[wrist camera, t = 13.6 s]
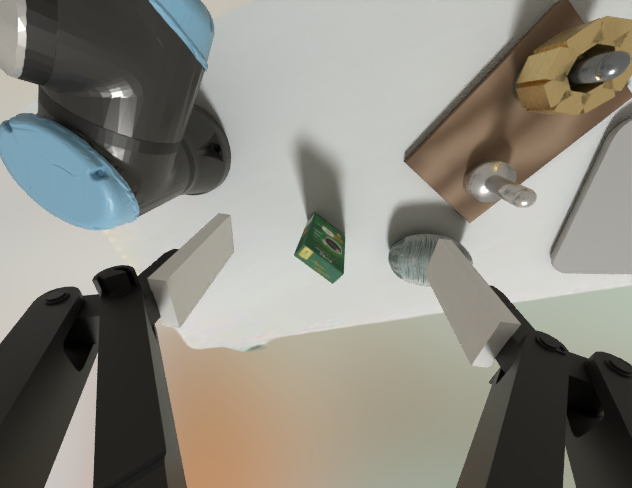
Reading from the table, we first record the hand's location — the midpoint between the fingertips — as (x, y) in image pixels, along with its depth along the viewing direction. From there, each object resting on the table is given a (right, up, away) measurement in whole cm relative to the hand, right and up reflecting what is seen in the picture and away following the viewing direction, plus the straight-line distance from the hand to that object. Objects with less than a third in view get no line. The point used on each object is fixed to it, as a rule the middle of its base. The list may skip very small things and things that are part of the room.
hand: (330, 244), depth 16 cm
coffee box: (+1, +3, +32) cm, 32 cm away
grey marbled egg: (+20, -1, +32) cm, 38 cm away
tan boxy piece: (+28, +20, +14) cm, 37 cm away
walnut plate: (+27, +17, +21) cm, 38 cm away
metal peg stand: (+28, +22, +16) cm, 39 cm away
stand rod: (+26, +11, +23) cm, 36 cm away
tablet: (+50, +7, +24) cm, 56 cm away
